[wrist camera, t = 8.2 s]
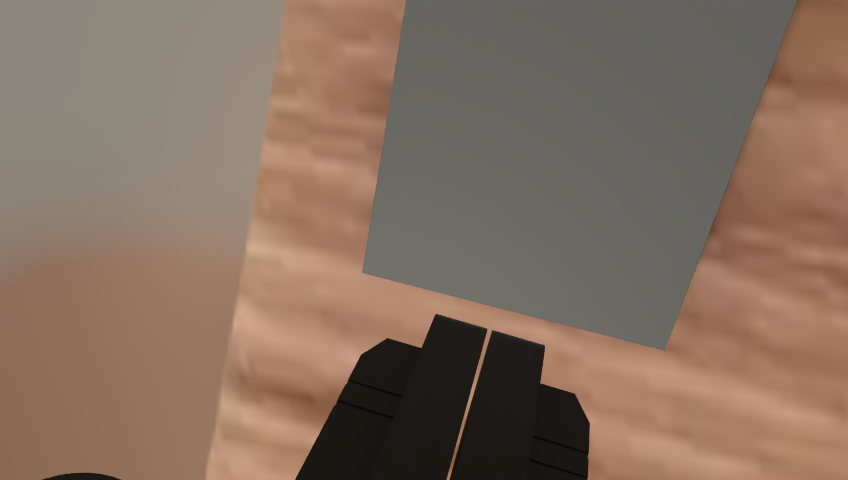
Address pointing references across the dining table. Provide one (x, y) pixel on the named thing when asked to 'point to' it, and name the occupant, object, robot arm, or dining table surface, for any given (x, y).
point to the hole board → (566, 151)
